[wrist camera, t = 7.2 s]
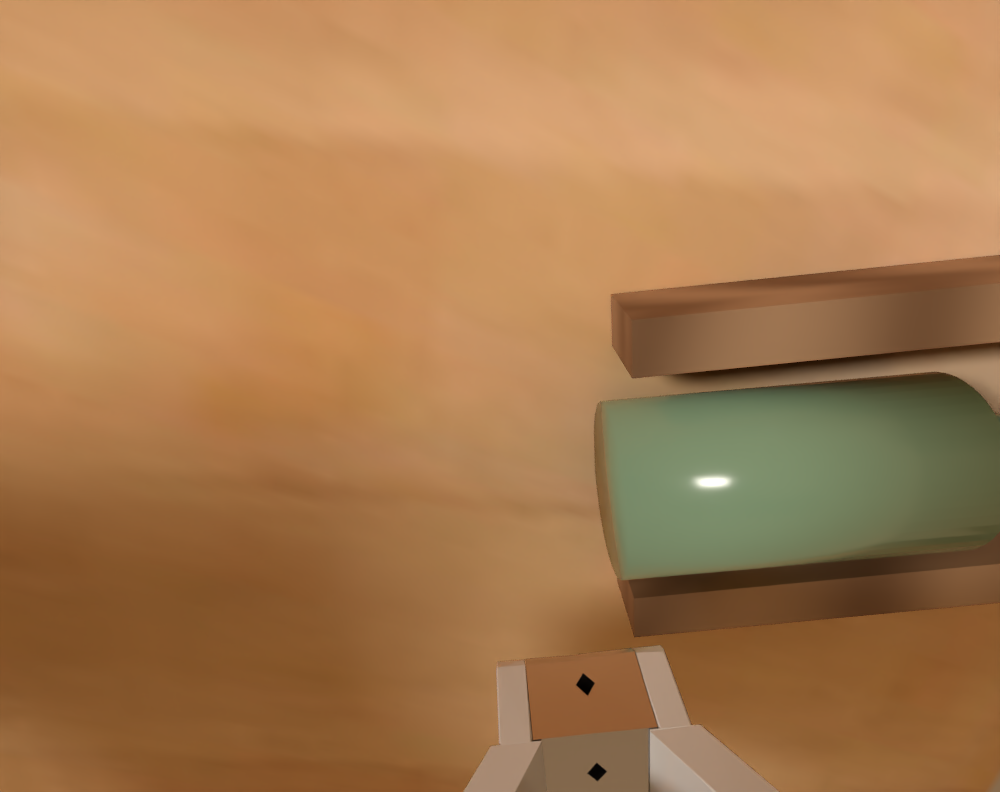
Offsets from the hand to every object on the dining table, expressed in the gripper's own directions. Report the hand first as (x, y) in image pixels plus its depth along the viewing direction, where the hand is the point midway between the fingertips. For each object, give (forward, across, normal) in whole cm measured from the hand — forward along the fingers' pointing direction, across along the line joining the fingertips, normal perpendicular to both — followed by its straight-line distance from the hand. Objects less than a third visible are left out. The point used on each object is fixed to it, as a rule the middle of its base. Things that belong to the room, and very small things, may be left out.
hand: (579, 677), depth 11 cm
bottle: (+6, -2, 0) cm, 6 cm away
